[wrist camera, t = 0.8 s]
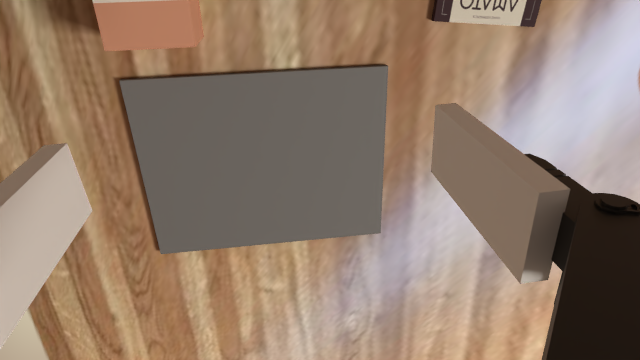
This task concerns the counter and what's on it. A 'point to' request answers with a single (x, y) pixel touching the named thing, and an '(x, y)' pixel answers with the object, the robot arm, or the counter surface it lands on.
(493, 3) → the chocolate bar
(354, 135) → the mat
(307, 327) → the counter surface
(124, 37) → the pink tipped block
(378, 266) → the counter surface
